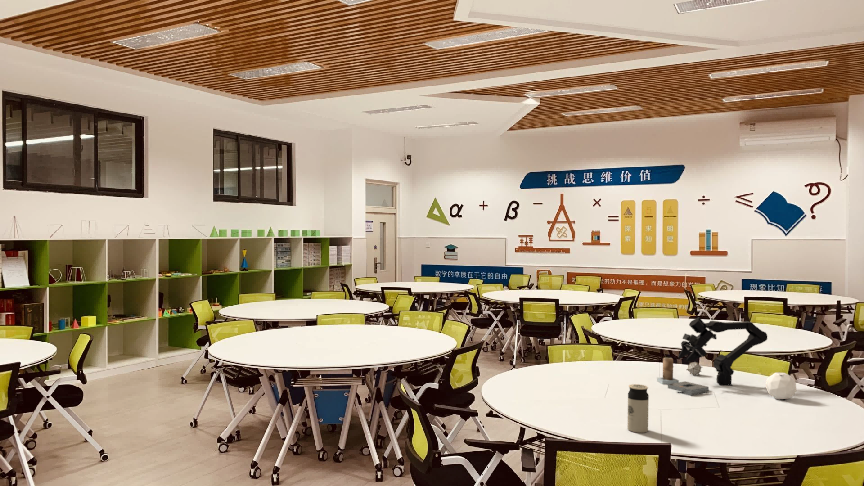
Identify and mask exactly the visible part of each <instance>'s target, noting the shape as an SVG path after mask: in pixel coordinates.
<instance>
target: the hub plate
mask: <svg viewBox="0 0 864 486" xmlns="http://www.w3.org/2000/svg"><path fill="white" fill-rule="evenodd" d="M667 389H671V390H673V391H676V392H677V393H678V394H682V395H686V396H690V397H693V396H698V395H699V396H700V395H703V394H709V390H710V389H709V386H708V385H707V386H706V385H703V384H700V383H699V384H697V383H694V382H689V381H679V382H678V383H672V384H667Z"/></svg>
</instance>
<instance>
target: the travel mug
mask: <svg viewBox="0 0 864 486" xmlns="http://www.w3.org/2000/svg"><path fill="white" fill-rule="evenodd" d="M628 388H629V391H628V393H627V430H628V431H630V432H632V433H639V434H641V433H642V434H643V433H644V434H645V433H647V432H648V431H649V397H650V395H649V393H648V389H649V387H648V385H645V384H639V383H638V384H636V383H635V384H634V383H632V384H629V385H628Z"/></svg>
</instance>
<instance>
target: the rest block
mask: <svg viewBox="0 0 864 486" xmlns="http://www.w3.org/2000/svg"><path fill="white" fill-rule="evenodd" d="M656 382H658V383H659V384H661V385H668V384H672V383H678V382H680V380H679V379H676V377H673V380H663V377H656Z"/></svg>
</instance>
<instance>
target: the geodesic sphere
mask: <svg viewBox="0 0 864 486" xmlns="http://www.w3.org/2000/svg"><path fill="white" fill-rule="evenodd" d="M765 387H766V390H767V392H768V394H769V395H770V396H772V397H773V399H776V400H780V399H787V400H789V399H791V398H792V397H794V396H795V394H796V392H797V382H796V381H795V379H794V378H793V377H792V376H791V375H790V374H788V373H786V372H780V371H778V372H776V371H775V372H774V373H773V374H771V375H769V376H768V377H767V379H766V380H765Z"/></svg>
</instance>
